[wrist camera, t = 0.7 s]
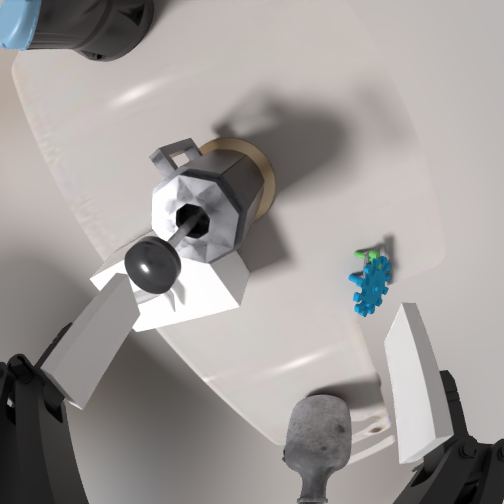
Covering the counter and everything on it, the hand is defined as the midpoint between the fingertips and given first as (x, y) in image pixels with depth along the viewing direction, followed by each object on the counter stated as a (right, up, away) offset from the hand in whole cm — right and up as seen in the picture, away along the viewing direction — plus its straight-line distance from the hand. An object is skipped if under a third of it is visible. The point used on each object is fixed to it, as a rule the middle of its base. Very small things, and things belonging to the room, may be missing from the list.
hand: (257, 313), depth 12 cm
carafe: (-5, +14, +27) cm, 31 cm away
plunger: (-6, +8, +19) cm, 22 cm away
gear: (+20, 0, +31) cm, 37 cm away
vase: (+18, -37, +52) cm, 66 cm away
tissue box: (-15, +1, +38) cm, 40 cm away
